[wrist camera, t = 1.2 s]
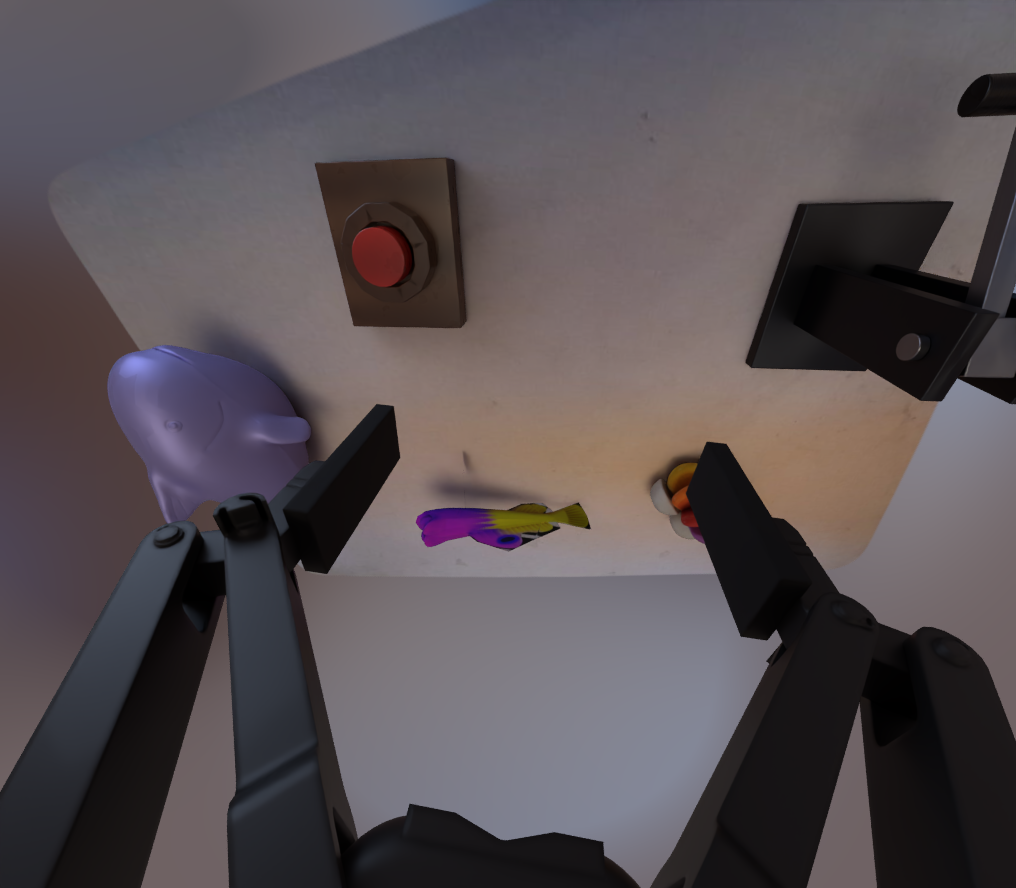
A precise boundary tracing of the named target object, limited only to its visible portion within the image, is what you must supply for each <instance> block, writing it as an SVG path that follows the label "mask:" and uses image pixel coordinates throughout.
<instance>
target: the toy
mask: <svg viewBox="0 0 1016 888" xmlns="http://www.w3.org/2000/svg"><path fill="white" fill-rule="evenodd" d="M463 473H464V472H463ZM464 493H465V492H464ZM557 522H558V523H563V524H567V525H572V526H576V527H581V528H586V529H591V528H590V524H589V521H588V518H587V515H586V513H585V512H584V510H583V509H582V507H581V506H580V504H579V503H576V504H573V505H570V506H568V507H565V508H562V509H559V510H557V511H554V512H553V511H552V510H551V509H549V508H548V507H547V506H546V505H544V504H543V503H530V504H520V505H518V506H516V507H514V508H511V509H509V510H495V509H480V508H443V509H435V510H429V511H425V512H424V513H422V514H421V515H419V516H418V517H417V520H416V524H417V525H418V527H419V528H420V529H421V530H423V532H422V535H421V537H422V540H423V541H424V542H425V545H426V546H427V547H432V546H436V545H438V544H441V543H443V542H445V541H448V540H452V539H457V538H462V537H467V536H470V537H472V538H473V539H474V540H476V541H477V542H480V543H483V544H487V545H490V546H493V547H496V548H499V549H503V550H506V551H511V550H513V549H515V548H517V547H519V546H521V545H524V544H526V543H528V542H530V541H532V540H534V539H537V538H539V537H541V536H544V535H546V534H548V533H551V532H553V531H555V530H558V529H560V526H559V525H558V523H557Z"/></svg>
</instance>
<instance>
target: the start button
mask: <svg viewBox="0 0 1016 888" xmlns="http://www.w3.org/2000/svg"><path fill="white" fill-rule="evenodd" d="M352 256H353V261H354V264H355V266H356V268H357V270H358V272H359V273H360V274H361V276H362V277H363V278H364V279H365V280H367V281H368V282H370V283H371V284H373V285H376V286H379V287H388V286H392V285H394V284H396V283H397V282H399V281H401V280H403V279H404V278H405V277H406V276H407V275H408V273H409V272H410V270H411V266H412V253H411V249H410V247H409V244H408V242H407V241H406V239H405V238H404V237H403V235H402V234H401V233H399V232H398V231H397V230H395V229H393V228H391V227H389V226H375V227H370V228H366V229H364V230H362V231H361V232H359V233H358V235H357V236H356V237H355V239H354V242H353V246H352Z"/></svg>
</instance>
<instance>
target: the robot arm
mask: <svg viewBox="0 0 1016 888" xmlns="http://www.w3.org/2000/svg"><path fill="white" fill-rule="evenodd" d="M399 459H400V452H399V444H398V436H397V428H396V420H395V412H394V406H389V405H380V404H376V405H375V407H374V408H373V409H372V410H371V411H370V412H369V413H368V414H367V415H366V417H365V418H364V419H363V420H362V421H361V422H360V423H359V424H358V425H357V427H356V428H355V429H354V430H353V431H352V432H351V433H350V434H349V436H348V437H347V438H346V439H345V440H344V441H343V442H342V443H341V444H340V446H339V447H338V448H337V449H336V450H335V451H334V452H333V453H332V454H331V456H330V457H329V458H328V459H327V460H326V461H325V462H324V461H317V460H315V461H313V462H312V463H310V464H308V465H307V466H305V467H303V468H302V469H301V470H300V471H299V472H298V473H297V474H296V475H295V476H294V477H293V479H291V480H290V481H289V482H288V483H287V484H286V487H284V488H283V489H282V490H281V491H280V492H279V493H278V494H277V495H276V496H275V497H274V498H273V499H272V500H271V501H270V502H269V503H267V501H266V499H265V497H264V496H263V495H261V494H258V493H243V494H238V495H236V496H233V497H230V498H228V499H227V500H225V501H223V502H222V503H220V504H219V505H218V507H217V508H216V509H215V510H214V513H213V517H214V519H215V521H216V523H217V525H218V527H219V528H220V530H214V531H205V532H199V530H198V529H197V527H196V526H195V524H194V523H193V522H189V521H175V522H172V523H168V524H165V525H163V526H161V527H158V528H156V529H155V530H153V531H152V532H150V533H149V534H148V535H146V537H145V538H144V539H143V540H142V541H141V543H140V545H139V546H138V548H137V550H136V552H135V553H134V555H133V557H132V559H131V560H130V562H129V564H128V566H127V568H126V569H125V571H124V573H123V575H122V577H121V578H120V580H119V582H118V584H117V585H116V587H115V589H114V591H113V592H112V594H111V596H110V598H109V600H108V601H107V603H106V605H105V607H104V609H103V610H102V612H101V614H100V616H99V617H98V619H97V621H96V623H95V624H94V626H93V628H92V630H91V632H90V633H89V635H88V637H87V639H86V641H85V642H84V644H83V646H82V648H81V649H80V651H79V653H78V655H77V656H76V658H75V660H74V662H73V664H72V666H71V667H70V669H69V671H68V672H67V675H66V676H65V678H64V680H63V681H62V683H61V685H60V687H59V689H58V690H57V692H56V694H55V696H54V697H53V699H52V701H51V703H50V705H49V706H48V708H47V710H46V712H45V714H44V715H43V717H42V719H41V721H40V722H39V724H38V726H37V728H36V729H35V731H34V733H33V735H32V737H31V738H30V740H29V742H28V744H27V745H26V747H25V749H24V751H23V753H22V754H21V756H20V758H19V760H18V761H17V763H16V765H15V767H14V769H13V771H12V772H11V774H10V776H9V777H8V779H7V781H6V783H5V785H4V786H3V788H2V790H1V792H0V888H141V885H142V881H143V878H144V874H145V870H146V867H147V864H148V860H149V857H150V854H151V850H152V846H153V843H154V840H155V836H156V833H157V829H158V826H159V822H160V819H161V815H162V812H163V809H164V805H165V802H166V798H167V795H168V791H169V788H170V784H171V781H172V778H173V774H174V771H175V767H176V764H177V760H178V757H179V753H180V750H181V747H182V743H183V740H184V736H185V732H186V729H187V726H188V722H189V719H190V715H191V712H192V709H193V705H194V702H195V698H196V695H197V691H198V688H199V684H200V681H201V678H202V674H203V671H204V667H205V664H206V660H207V657H208V653H209V650H210V646H211V643H212V639H213V636H214V633H215V629H216V626H217V622H218V619H219V615H220V612H221V608H222V605H223V602H224V598H225V595H226V597H227V616H228V636H229V654H230V673H231V693H232V711H233V731H234V749H235V768H236V792H235V796H234V797H233V799H232V800H231V802H230V803H229V809H228V813H227V838H228V868H229V888H640V887H639V885H638V884H637V883H636V882H635V881H634V879H632V878H631V877H630V876H629V875H628V874H627V873H626V872H625V871H624V870H623V869H622V868H621V867H620V866H618V865H617V864H616V863H615V862H613V861H612V860H611V859H609V858H607V857H605V856H604V847H603V842H601V841H596V840H591V839H586V838H581V837H576V836H571V835H566V834H561V833H555V832H553V833H548V834H542V835H536V836H530V837H524V838H518V839H512V840H500V839H498V838H496V837H495V836H493V835H492V834H490V833H488V832H487V831H485V830H483V829H482V828H480V827H478V826H477V825H475V824H473V823H472V822H470V821H468V820H467V819H465V818H463V817H462V816H460V815H458V814H457V813H454V812H449V811H444V810H439V809H434V808H429V807H423V806H419V805H414V804H409V808H408V812H407V816H402V817H397V818H394V819H392V820H389V821H386V822H384V823H382V824H380V825H378V826H376V827H374V828H373V829H371V830H370V831H368V832H367V833H365V834H364V835H362V836H361V837H360V838H359V839H358V837H357V832H356V828H355V824H354V820H353V816H352V813H351V809H350V806H349V803H348V800H347V797H346V793H345V790H344V786H343V782H342V778H341V773H340V769H339V765H338V760H337V756H336V751H335V747H334V742H333V738H332V733H331V729H330V724H329V720H328V715H327V711H326V707H325V702H324V698H323V693H322V689H321V684H320V680H319V675H318V671H317V667H316V662H315V658H314V654H313V649H312V645H311V640H310V636H309V631H308V627H307V622H306V618H305V614H304V609H303V605H302V600H301V596H300V591H299V587H298V582H297V578H296V574H295V571H294V567H295V566H296V565H297V563H298V562H299V561H300V559H301V561H302V564H303V567H304V569H305V571H311V572H318V573H324V574H327V573H328V572H329V570H330V568H331V567H332V565H333V564H334V562H335V561H336V559H337V557H338V556H339V554H340V553H341V551H342V549H343V548H344V546H345V545H346V543H347V541H348V540H349V538H350V537H351V535H352V534H353V532H354V530H355V529H356V527H357V526H358V524H359V522H360V521H361V519H362V518H363V516H364V514H365V513H366V511H367V510H368V508H369V507H370V505H371V503H372V502H373V500H374V499H375V497H376V495H377V494H378V492H379V491H380V489H381V487H382V486H383V484H384V483H385V481H386V480H387V478H388V476H389V475H390V473H391V472H392V470H393V468H394V467H395V465H396V464H397V462H398V460H399ZM686 496H687V498H688V501H689V503H690V506H691V509H692V511H693V514H694V516H695V519H696V522H697V524H698V527H699V529H700V532H701V535H702V537H703V540H704V542H705V545H706V548H707V550H708V553H709V555H710V558H711V561H712V563H713V566H714V568H715V571H716V573H717V576H718V579H719V581H720V584H721V586H722V589H723V592H724V594H725V597H726V599H727V602H728V605H729V607H730V610H731V612H732V615H733V618H734V620H735V623H736V625H737V628H738V630H739V633H740V636H741V637H747V638H754V639H760V640H768V639H769V638H770V636H771V635H772V634H773V633H774V631H775V630H776V629H777V631H778V633H779V635H780V637H781V640H782V643H781V644H780V646H779V647H778V648H777V649H776V650H775V651H774V653H773V654H772V655H771V656H770V658H769V659H768V660H767V662H768V663H769V665H768V667H767V669H766V671H765V673H764V675H763V677H762V679H761V682H760V683H759V685H758V687H757V689H756V691H755V693H754V695H753V697H752V698H751V700H750V703H749V704H748V706H747V708H746V710H745V712H744V715H743V716H742V718H741V720H740V722H739V724H738V726H737V728H736V730H735V732H734V734H733V736H732V738H731V739H730V741H729V743H728V745H727V747H726V749H725V751H724V753H723V755H722V757H721V759H720V761H719V763H718V765H717V767H716V769H715V771H714V773H713V775H712V777H711V779H710V780H709V783H708V784H707V786H706V788H705V790H704V792H703V794H702V796H701V798H700V800H699V802H698V804H697V806H696V808H695V810H694V812H693V814H692V816H691V818H690V820H689V822H688V823H687V825H686V827H685V829H684V831H683V833H682V835H681V837H680V839H679V841H678V843H677V845H676V847H675V849H674V851H673V852H672V854H671V856H670V857H669V859H668V860H667V862H666V863H665V864H664V866H663V867H662V869H661V870H660V872H659V873H658V875H657V877H656V878H655V880H654V882H653V883H652V885H651V887H650V888H806V887H807V884H808V881H809V877H810V874H811V870H812V867H813V863H814V859H815V856H816V852H817V849H818V845H819V842H820V839H821V835H822V832H823V828H824V825H825V821H826V818H827V814H828V811H829V807H830V804H831V800H832V796H833V793H834V790H835V786H836V783H837V779H838V776H839V772H840V769H841V765H842V762H843V758H844V755H845V751H846V748H847V744H848V740H849V737H850V733H851V730H852V727H853V723H854V719H855V716H856V713H857V709H858V706H859V702H860V712H861V721H862V732H863V743H864V754H865V764H866V775H867V786H868V796H869V807H870V817H871V828H872V838H873V849H874V860H875V869H876V880H877V888H1016V741H1015V738H1014V735H1013V732H1012V730H1011V727H1010V725H1009V722H1008V719H1007V717H1006V714H1005V712H1004V709H1003V706H1002V704H1001V701H1000V698H999V696H998V693H997V690H996V688H995V685H994V682H993V680H992V677H991V675H990V672H989V669H988V667H987V666H986V664H985V662H984V661H983V659H982V658H981V657H980V656H979V655H978V654H977V653H976V652H975V651H974V650H973V649H972V648H971V647H970V646H968V645H967V644H966V643H964V642H963V641H961V640H960V639H959V638H957V637H955V636H953V635H951V634H949V633H947V632H945V631H942V630H940V629H936V628H933V627H922V628H920V629H918V630H917V631H916V632H915V633H913V634H912V635H909V634H907V633H904V632H901V631H899V630H896V629H893V628H891V627H888V626H885V625H882V624H880V623H878V622H877V621H876V619H875V617H874V616H873V615H872V614H871V613H870V612H869V611H868V610H867V609H866V608H865V607H864V606H863V605H861V604H860V603H858V602H857V601H855V600H854V599H852V598H850V597H847V596H845V595H843V594H840V593H839V592H838V590H837V589H836V587H835V586H834V584H833V583H832V581H831V580H830V578H829V577H828V575H827V574H826V572H825V571H824V569H823V568H822V566H821V565H820V563H819V562H818V560H817V559H816V557H813V553H812V551H811V550H810V548H809V547H808V546H806V542H805V541H804V539H803V538H802V536H801V535H800V534H799V532H798V531H797V530H796V529H795V528H794V527H793V526H791V525H790V524H789V523H788V522H787V521H786V520H784V519H780V518H772V517H771V515H770V513H769V512H768V510H767V509H766V507H765V505H764V504H763V502H762V501H761V499H760V497H759V496H758V494H757V493H756V491H755V489H754V488H753V486H752V484H751V483H750V481H749V480H748V478H747V476H746V475H745V473H744V472H743V470H742V468H741V467H740V465H739V464H738V462H737V460H736V459H735V457H734V455H733V454H732V452H731V451H730V449H729V447H728V446H727V444H723V443H714V442H706V445H705V447H704V450H703V452H702V454H701V457H700V459H699V462H698V464H697V467H696V469H695V471H694V474H693V476H692V479H691V481H690V484H689V486H688V488H687V491H686Z"/></svg>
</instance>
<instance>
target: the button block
mask: <svg viewBox="0 0 1016 888" xmlns="http://www.w3.org/2000/svg"><path fill="white" fill-rule="evenodd" d="M315 167H316V171H317V175H318V179H319V184H320V188H321V192H322V196H323V200H324V204H325V208H326V213H327V217H328V221H329V225H330V229H331V233H332V238H333V242H334V246H335V250H336V254H337V258H338V262H339V267H340V271H341V275H342V279H343V283H344V287H345V291H346V296H347V300H348V304H349V308H350V312H351V316H352V321H353V325H354V326H373V327H426V328H462V326H463V325H464V324H465V322H466V321H467V319H466V307H465V294H464V281H463V269H462V256H461V244H460V231H459V218H458V206H457V193H456V181H455V168H454V160H452V159H448V158H426V159H399V160H371V161H344V162H316V163H315ZM375 226H389V227H391V228H393V229H395V230H397V231H398V232H399V233H401V234H402V235H403V237H404V238H405V239H406V241H407V242H408V244H409V247H410V249H411V253H412V266H411V270H410V272H409V273H408V275H407V276H406V277H405V278H404V279H403V280H401V281H399V282H397V283H396V284H394V285H392V286H388V287H379V286H376V285H373V284H371V283H370V282H368V281H367V280H365V279H364V278H363V277H362V276H361V274H360V273H359V272H358V270H357V268H356V266H355V264H354V261H353V256H352V246H353V242H354V239H355V237H356V236H357V235H358V233H359V232H361V231H362V230H364V229H366V228H370V227H375Z"/></svg>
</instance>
